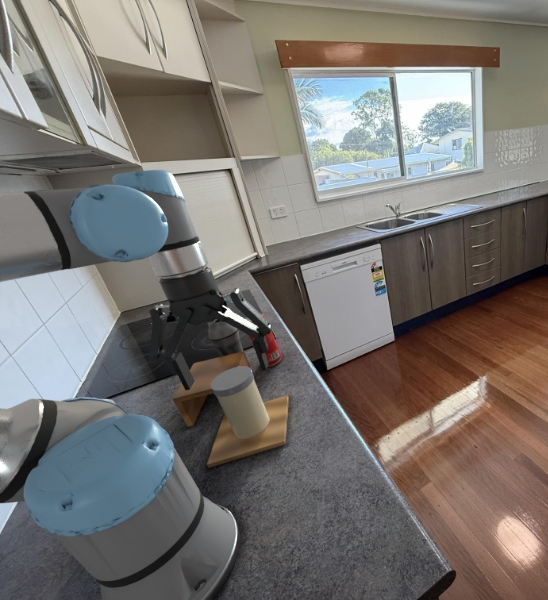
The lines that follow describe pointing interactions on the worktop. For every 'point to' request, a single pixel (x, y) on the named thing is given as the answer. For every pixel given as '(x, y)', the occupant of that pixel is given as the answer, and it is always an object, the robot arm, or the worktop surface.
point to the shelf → (204, 384)
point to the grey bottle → (224, 338)
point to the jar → (241, 401)
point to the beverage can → (269, 347)
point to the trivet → (270, 437)
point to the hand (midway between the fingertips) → (228, 376)
